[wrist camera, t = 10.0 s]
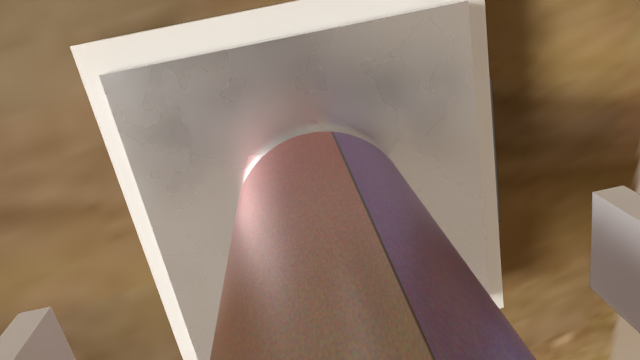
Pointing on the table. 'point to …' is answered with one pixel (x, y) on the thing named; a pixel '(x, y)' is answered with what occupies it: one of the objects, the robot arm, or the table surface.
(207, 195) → the pan
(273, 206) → the beverage can
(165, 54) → the base
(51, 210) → the table surface
